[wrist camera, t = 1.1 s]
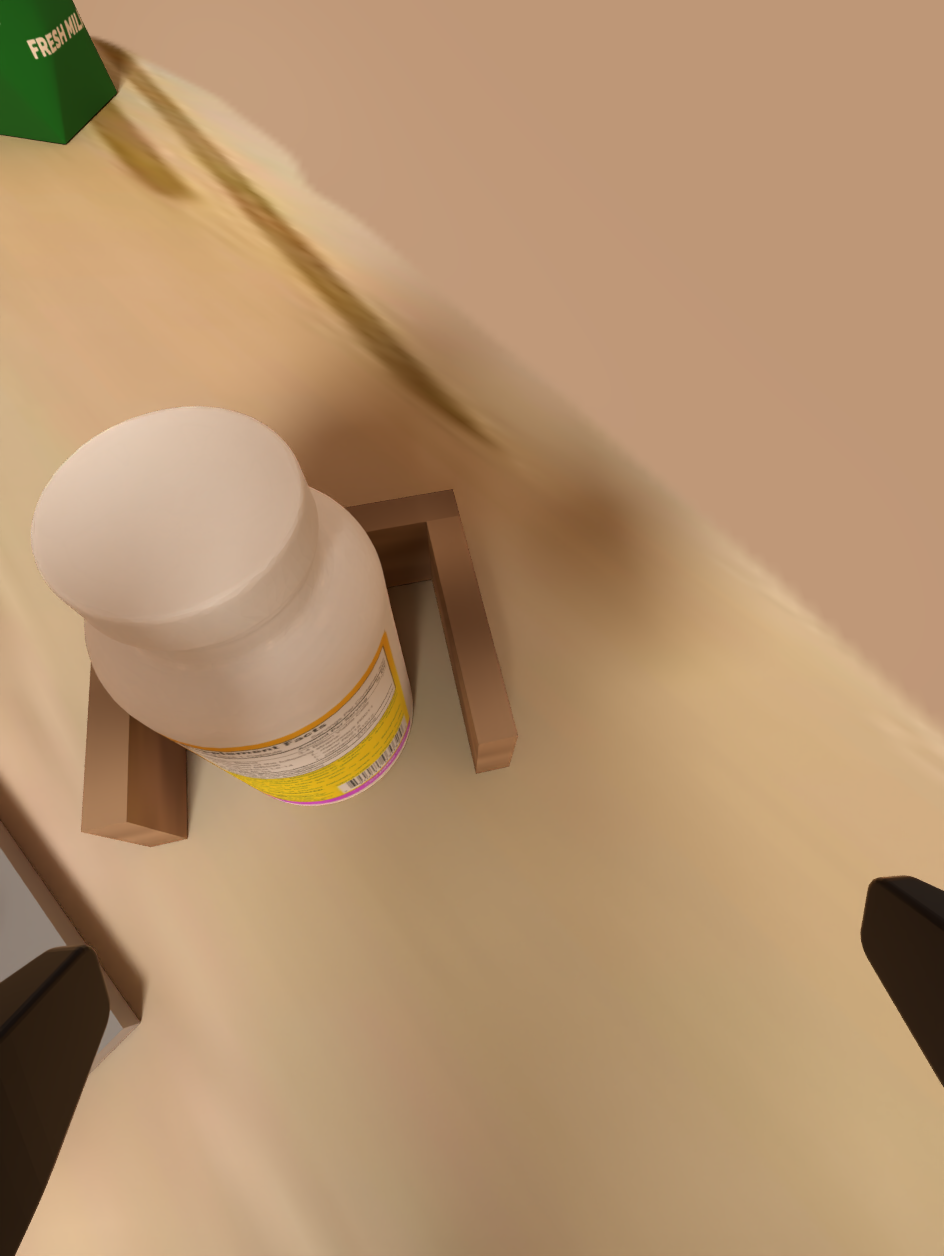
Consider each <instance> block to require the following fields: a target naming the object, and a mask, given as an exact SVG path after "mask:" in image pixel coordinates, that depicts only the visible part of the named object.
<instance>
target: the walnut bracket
mask: <svg viewBox="0 0 944 1256" xmlns="http://www.w3.org/2000/svg"><path fill="white" fill-rule="evenodd" d="M345 509H346V510H347V511H348V512H349V513H350V514H351V515H352V516H353V517H354V518H355V519H356V520H357V522H358V523H359V524H360V525H361V526H362V528H363V529H364V530H365V532H366V533H367V535H368V537H369V538H370V540H371V542H372V544H373V546H374V548H375V550H376V552H377V554H378V557H379V560H380V563H381V567H382V570H383V574H384V579H385V584H386V588H388V587H393V586H399V585H404V584H409V583H415V582H420V581H425V580H431V579H432V582H433V586H434V591H435V595H436V599H437V604H438V608H439V613H440V617H441V621H442V626H443V630H444V634H445V639H446V643H447V648H448V652H449V656H450V661H451V665H452V670H453V674H454V678H455V683H456V687H457V692H458V696H459V700H460V705H461V709H462V714H463V718H464V722H465V727H466V731H467V736H468V740H469V744H470V749H471V753H472V758H473V762H474V766H475V771H476V774H477V773H481V772H486V771H490V770H495V769H499V768H503V767H508V766H509V764H510V761H511V757H512V754H513V751H514V748H515V744H516V741H517V738H518V734H517V730H516V726H515V722H514V719H513V715H512V711H511V707H510V703H509V700H508V696H507V692H506V688H505V685H504V681H503V677H502V673H501V670H500V666H499V662H498V658H497V654H496V651H495V647H494V643H493V639H492V636H491V632H490V628H489V624H488V621H487V617H486V613H485V609H484V605H483V602H482V598H481V594H480V590H479V587H478V583H477V579H476V575H475V572H474V568H473V564H472V560H471V556H470V553H469V549H468V545H467V541H466V538H465V534H464V530H463V526H462V523H461V519H460V515H459V511H458V507H457V504H456V500H455V496H454V492H453V489H451V490H446V491H440V492H434V493H428V494H422V495H416V496H410V497H405V498H399V499H393V500H387V501H381V502H375V503H370V504H364V505H358V506H352V507H346V508H345ZM81 832H84V833H89V834H93V835H98V836H102V837H107V838H112V839H116V840H121V841H125V842H130V843H135V844H139V845H144V846H148V847H153V846H157V845H162V844H166V843H170V842H175V841H179V840H184V839H187V783H186V748H184V747H183V746H181V745H179V744H177V743H175V742H174V741H172V740H170V739H168V738H166V737H165V736H163V735H161V734H159V733H157V732H155V731H154V730H152V729H151V728H149V727H147V726H146V725H144V724H143V723H141V722H140V721H138V720H137V719H135V718H134V717H132V716H131V715H129V714H128V713H127V712H126V711H125V710H124V709H123V708H121V707H120V706H119V705H118V704H117V703H116V702H115V701H114V700H113V698H112V697H111V696H110V694H109V693H108V692H107V691H106V689H105V688H104V686H103V685H102V683H101V682H100V680H99V679H98V677H97V674H96V672H95V670H94V668H93V666H92V663H91V671H90V688H89V705H88V722H87V739H86V756H85V773H84V790H83V807H82V824H81Z"/></svg>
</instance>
